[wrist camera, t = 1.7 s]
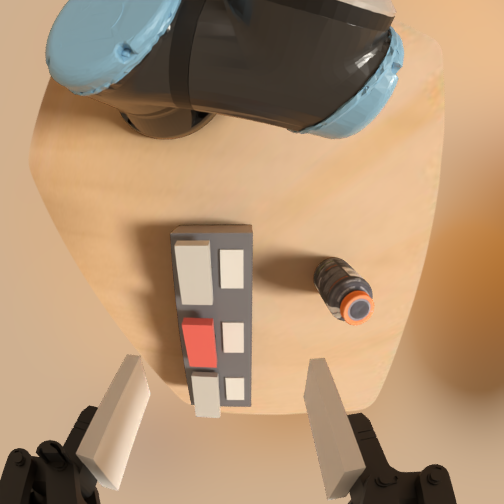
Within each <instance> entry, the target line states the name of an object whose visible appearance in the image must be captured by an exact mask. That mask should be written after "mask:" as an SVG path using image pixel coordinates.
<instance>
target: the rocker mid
mask: <svg viewBox="0 0 504 504" xmlns="http://www.w3.org/2000/svg"><path fill="white" fill-rule="evenodd" d="M182 329H183V334H184V340H185V345H186V350H187V355H188V360H189V365H190V367H213V368H217V353H216V343H215V333H214V322H213V318H183V322H182Z"/></svg>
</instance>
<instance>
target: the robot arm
mask: <svg viewBox="0 0 504 504" xmlns="http://www.w3.org/2000/svg"><path fill="white" fill-rule="evenodd" d="M395 14H396V10H395V8H394V6H393V4H392V2H391V0H69V1H68V2H67V3H66V5H65V6H64V7H63V9H62V10H61V12H60V13H59V15H58V16H57V18H56V20H55V22H54V24H53V26H52V28H51V30H50V33H49V36H48V40H47V44H46V63H47V65H48V68H49V73H50V75H51V76H52V78H53V79H54V80H55V81H56V82H58V83H59V84H61V85H63V86H64V87H66V88H68V89H69V90H70V91H71V92H72V93H74V94H78V95H80V96H87V97H90V98H92V99H95V100H98V101H100V102H103V103H105V104H107V105H110V106H112V107H115V108H117V109H119V111H120V113H121V115H122V117H123V119H124V120H125V121H126V123H127V124H128V125H129V126H130V127H132V128H133V129H134V130H136V131H137V132H139V133H141V134H143V135H146V136H149V137H152V138H157V139H176V138H181V137H184V136H187V135H190V134H192V133H194V132H196V131H198V130H199V129H201V128H202V127H203V126H205V125H206V124H207V123H208V122H209V121H210V120H211V119H212V118H213V117H214V116H215V115H216V114H220V115H226V116H232V117H237V118H242V119H247V120H252V121H257V122H261V123H266V124H270V125H274V126H278V127H282V128H286V129H287V130H289V131H291V132H293V133H301V134H305V133H308V134H313V135H317V136H321V137H325V138H329V139H342V138H347V137H349V136H352V135H354V134H356V133H358V132H359V131H361V130H362V129H364V128H365V127H366V126H367V125H368V124H369V123H370V122H372V120H373V119H374V118H375V117H376V116H377V115H378V114H379V113H380V111H381V110H382V109H383V107H384V106H385V104H386V103H387V101H388V100H389V98H390V96H391V95H392V93H393V91H394V89H395V86H396V84H397V82H398V77H397V75H396V73H397V72H398V70H399V69H400V68H401V67H402V65H403V59H404V49H403V43H402V40H401V38H400V36H399V35H398V34H397V33H396V32H395V30H394V29H393V28H392V27H391V26H390V25H391V23H392V21H393V19H394V17H395ZM150 394H151V393H150V390H149V386H148V383H147V379H146V376H145V372H144V368H143V364H142V360H141V356H135V355H126V357H125V359H124V361H123V363H122V364H121V366H120V368H119V370H118V372H117V373H116V375H115V377H114V379H113V381H112V383H111V385H110V386H109V388H108V390H107V392H106V394H105V396H104V398H103V400H102V401H101V403H100V405H99V407H98V408H97V407H94V406H88V407H87V408H86V409H84V411H82V412H81V414H80V416H79V417H78V419H77V422H76V423H75V425H74V428H73V429H72V430H71V433H70V434H69V436H68V438H67V440H66V442H65V444H64V446H63V447H62V446H61V444H59V443H58V442H56V441H51V440H49V441H44V442H43V443H41V444H40V445H39V446H38V447H37V451H36V453H37V454H38V456H39V457H35V456H31V455H30V454H29V453H28V451H26V450H25V449H21V448H18V449H14V450H13V451H12V452H11V453H10V454H9V456H8V459H7V461H6V464H5V467H4V470H3V474H2V477H1V480H0V504H100V499H99V493H98V490H97V488H96V487H95V486H96V483H97V481H98V482H99V483H100V484H101V485H102V486H103V487H106V488H110V489H113V490H117V491H118V490H119V486H120V483H121V480H122V477H123V473H124V470H125V467H126V464H127V461H128V458H129V455H130V452H131V449H132V446H133V443H134V440H135V437H136V434H137V431H138V428H139V425H140V422H141V419H142V416H143V414H144V411H145V408H146V405H147V403H148V400H149V397H150ZM304 401H305V405H306V409H307V413H308V417H309V421H310V426H311V430H312V434H313V438H314V443H315V447H316V451H317V456H318V460H319V464H320V468H321V473H322V477H323V482H324V486H325V491H326V495H327V500H332V499H337V498H341V497H346V496H347V494H348V493H349V492H350V496H351V500H350V502H349V503H348V504H457V503H456V499H455V495H454V491H453V487H452V484H451V480H450V476H449V473H448V471H447V470H446V468H444V467H443V466H441V465H438V464H436V465H435V464H434V465H429V466H427V467H426V468H425V469H424V470H422V472H399V471H397V470H395V469H394V468H392V467H391V466H390V465H389V464H388V462H387V460H386V457H385V455H384V453H383V450H382V448H381V446H380V443H379V441H378V439H377V438H376V434H375V432H374V431H373V427H372V425H371V422H370V420H369V419H368V418H367V417H366V416H365V415H363V414H362V413H357V414H351V415H347V414H346V412H345V409H344V406H343V404H342V401H341V398H340V396H339V393H338V390H337V388H336V385H335V383H334V380H333V378H332V375H331V372H330V370H329V367H328V365H327V362H326V360H325V358H318V359H310V361H309V368H308V374H307V380H306V386H305V392H304Z"/></svg>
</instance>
